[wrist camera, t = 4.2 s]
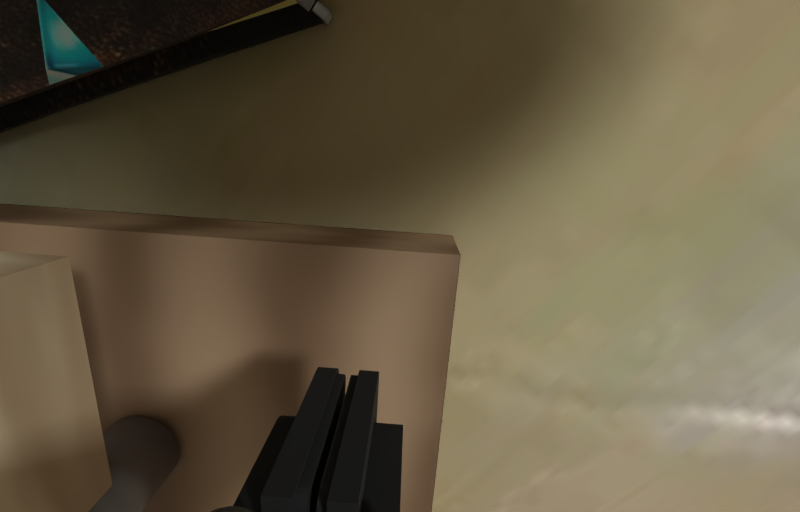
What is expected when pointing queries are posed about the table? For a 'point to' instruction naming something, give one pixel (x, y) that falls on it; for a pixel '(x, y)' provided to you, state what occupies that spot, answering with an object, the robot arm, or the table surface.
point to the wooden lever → (63, 406)
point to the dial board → (251, 331)
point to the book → (123, 44)
